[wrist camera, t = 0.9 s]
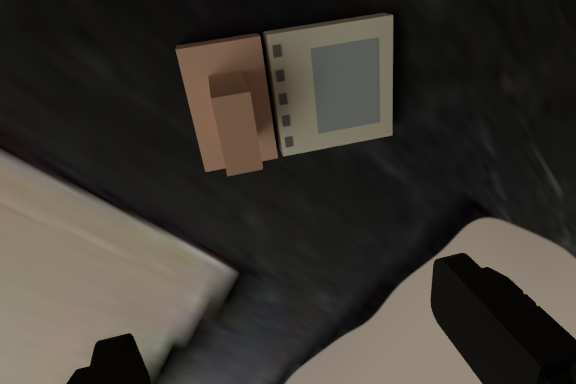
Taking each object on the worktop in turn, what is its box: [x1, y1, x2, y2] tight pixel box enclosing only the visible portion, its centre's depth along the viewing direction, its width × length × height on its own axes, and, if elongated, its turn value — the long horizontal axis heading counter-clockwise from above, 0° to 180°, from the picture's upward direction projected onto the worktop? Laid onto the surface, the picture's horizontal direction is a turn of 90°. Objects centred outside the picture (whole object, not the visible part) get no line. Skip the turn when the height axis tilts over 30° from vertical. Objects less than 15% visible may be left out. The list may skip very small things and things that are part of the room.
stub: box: [176, 33, 278, 176], centre depth 24 cm, size 5×8×6 cm, turn 7°
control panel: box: [263, 13, 393, 156], centre depth 27 cm, size 8×8×2 cm
